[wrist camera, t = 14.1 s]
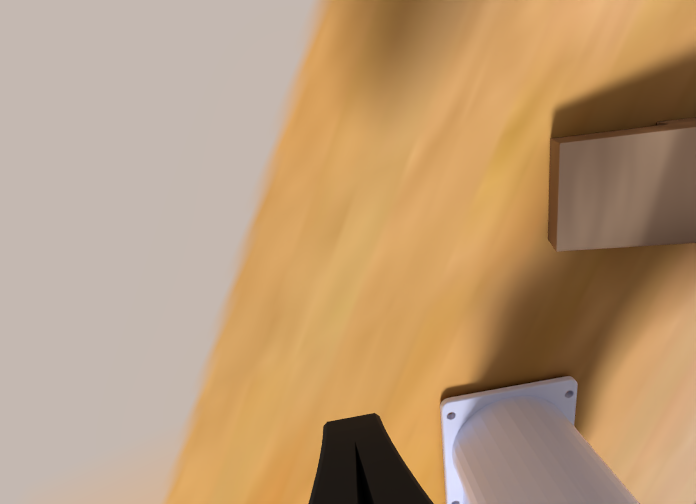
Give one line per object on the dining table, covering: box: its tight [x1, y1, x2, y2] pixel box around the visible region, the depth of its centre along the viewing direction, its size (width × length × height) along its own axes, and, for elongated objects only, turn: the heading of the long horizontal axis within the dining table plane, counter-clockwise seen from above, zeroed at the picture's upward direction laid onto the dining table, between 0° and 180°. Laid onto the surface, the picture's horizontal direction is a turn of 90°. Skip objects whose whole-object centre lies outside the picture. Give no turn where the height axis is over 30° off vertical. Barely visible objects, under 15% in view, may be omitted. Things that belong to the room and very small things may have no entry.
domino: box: [548, 121, 696, 251], centre depth 18 cm, size 2×5×8 cm
